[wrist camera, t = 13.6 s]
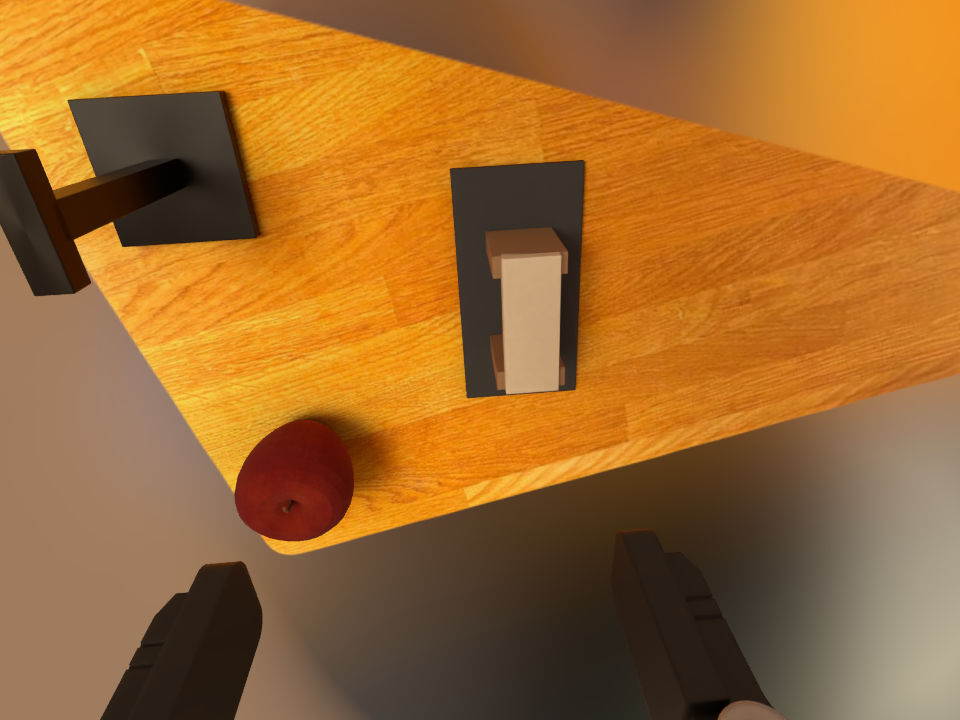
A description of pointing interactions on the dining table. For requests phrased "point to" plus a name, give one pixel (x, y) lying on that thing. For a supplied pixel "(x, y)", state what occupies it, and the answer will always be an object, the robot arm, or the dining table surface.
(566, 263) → the beige wooden bench
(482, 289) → the mat
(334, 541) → the dining table surface
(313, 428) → the apple
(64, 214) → the stand
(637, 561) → the robot arm
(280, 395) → the dining table surface
